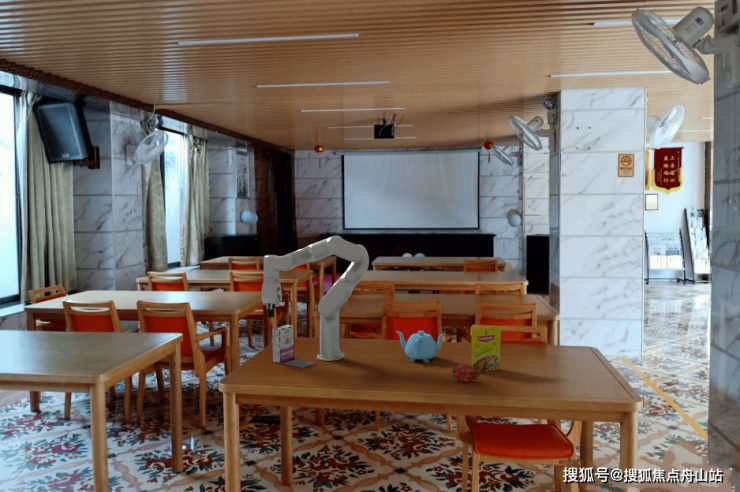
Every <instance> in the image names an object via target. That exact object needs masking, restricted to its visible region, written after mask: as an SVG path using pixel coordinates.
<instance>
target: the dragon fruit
mask: <svg viewBox="0 0 740 492" xmlns="http://www.w3.org/2000/svg"><path fill="white" fill-rule="evenodd" d="M451 373H452V378H454V379H458V381H459V382H460V383H463V382H465V383H468V384H473V383H474V381H476V380H478V379H477V378H478V376H479V377H480V376H481V374H480V372H478V371H477V370H474V369H473V367H472V366H471V365H470V364H467V363H458V364H455V366H454V367H453V368H452V370H451Z"/></svg>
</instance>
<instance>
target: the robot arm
mask: <svg viewBox="0 0 740 492" xmlns="http://www.w3.org/2000/svg"><path fill="white" fill-rule="evenodd" d="M333 255H334V256H337V257H339V258H341V259H344V260H346V261H349V262H351V263H350V264H349V266H348V267H347V269H346V270H345V271H344V273H342V275H341V276H340V277H339V278H338V279H337V280H336V281H335V282H334V284H333V285H332V286H331V288H329V290H328V291H327V293H326V294H325V295H323V296H322V297H321V299H320V300H319V301H318V302H319V303H318V305H317V308H318V309H317V310H318V312H319V353H318V354H317V355H316V359H317V360H320V361H324V362H325V361H326V362H328V361H329V362H331V361H333V362H334V360H335V361H338V360H339V361H340V360H341V359H343V358H344V356H345V355H346V353H345V352H342V348H340V309H341V308H342V307H343V305H344V304H345V303H346V302H347V300H349V298H350V297H351V295H352V293H353V290H354V289H355V288H356V286H357V285H358V284H359V283H360V281H361V280H362V278H364V277H365V275H366V273H367V272H368V271H367V270H368V268H369V266H370V265H369V264H370V257H369V254H368V250H367V249H366V247H365V246H364V245H362V244H355V243H353V242H351V241H347V240H346V239H343V238H342V236H340V235H332V236H330V237H327V238H325V239H322V240H320V241H316V242H314V243H311V244H309V245H307V246H305V247H303V248H301V249H298V250H296V251H295V250H294V251H293V252H290V253H287V254H285V255H280V256H279V255H275V254H266V255H264V257H263V282H262V287H261V297H260V298H261V302H262V305H263V306H265V307H266V310H267V318H269V319H271V318H274V317H275V310H276V308H277V307H280V306H281V305H280V304H281V303H282V300H283V299H282V297H283V295H282V293H283V292H282V285H281V283H280V281H281V280H280V271H284V272H288V271H290V270H291V271H292V269H293V268H297V267H299V266H302V265H304V264H307V263H311V262H313V263H314V262H318V261H320V260H322V259H325V258H328V257H329V256H333Z"/></svg>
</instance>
